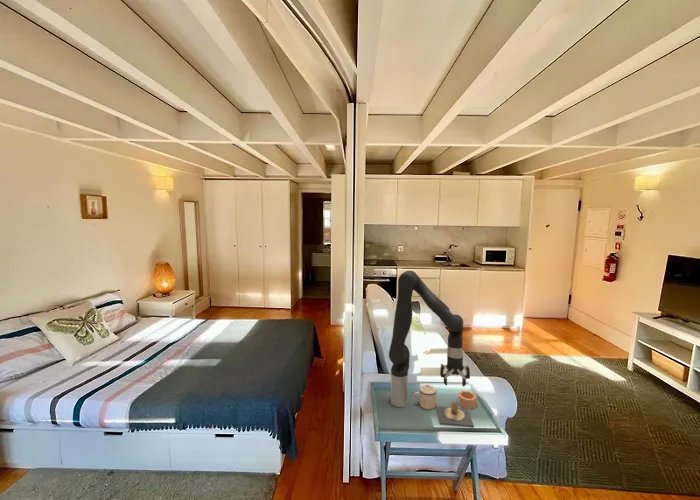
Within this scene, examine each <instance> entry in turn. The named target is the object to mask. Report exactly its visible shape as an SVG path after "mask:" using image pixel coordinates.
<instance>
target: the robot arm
mask: <svg viewBox="0 0 700 500" xmlns="http://www.w3.org/2000/svg"><path fill="white" fill-rule="evenodd" d="M414 291H415V292H416V293H417V294H418V295H419V296H420V297H421V299H422V300H423V302H424V303H425V304H426V306H427V307H428V309H430V310H431V312H432V313H434V314H435V315H436V316H437V318H439V320H440V321H441V322H442V324H444V326H446V328H448V336H447V348H446V349H447V350H446V364H443V363H441V364H440V368H439V369H440V372H439V375H440V378H443V384H444V385H445V386H448V377H450V376H451V375H456V376H458V375H460V376H461V377H462V378H461V379H462V382H461V385H462V387H465V386H466V384H467V379H470V378H471V374H470V373H471V372H470V371H471V370H470V367H469V365H468V364H467V365H463V364H464V349H463V331H464V320H463V318H462V316H461V315H460V314H457V313H456V314H454V313H452V312H451V311H450V308H449V307H448V305H446V304H445V302H443V301H442V300H441V299H440V298H439V297H438V296H437V295H436V294H435V293H433V291H431V289H430V288H429V287H428V286H427V285H426V284H425V283H424V281H423V280H422V279H421V278H420V276H419V275H418V274H417V273H416V272H415V271H413V270H406V271H404V272H402V273H401V274H400V275H399V277H398V280H397V300H396V305H395V310H394V312H395V313H394V319H393V320H394V321H393V328H392V337H391V342H390V347H389V350H388V358H389V361H390V362H391V363H392V365H391V369H390V378H391V379H390V384H391V385H390V406H393V407H396V408H404V407H407V406H408V403H409V383H408V382H409V379H408V378H409V369H410V349H409V348H408V346H407V345H406V344H405V343H406V339H407V337H408V334H409V332H410V330H411V325H412V323H413V322H412V321H413V320H412V319H413V306H412V305H413V304H412V296H413V293H414ZM445 369H447V370H446V371H445V373H444V370H445ZM463 371H464V372H465V373H466V375H465V373H463Z"/></svg>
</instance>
